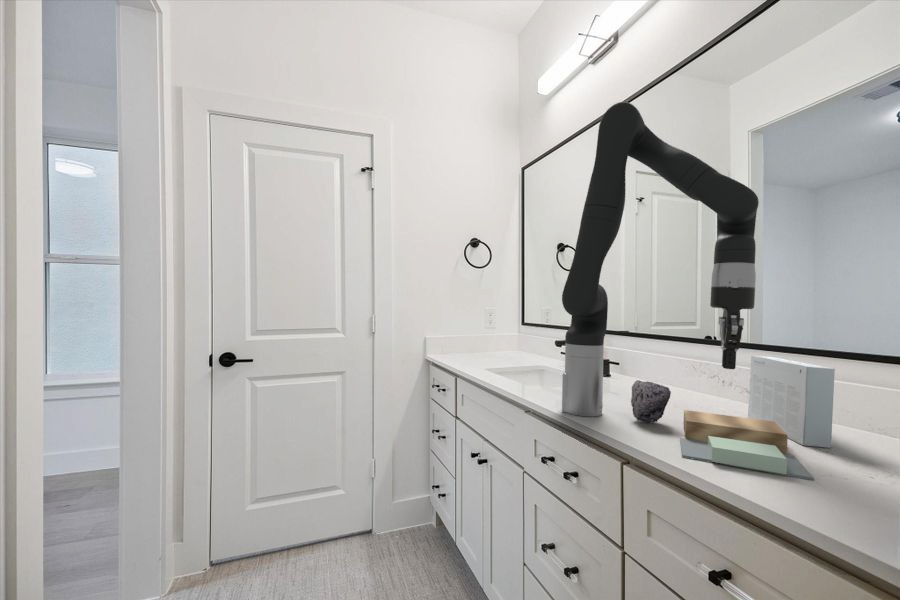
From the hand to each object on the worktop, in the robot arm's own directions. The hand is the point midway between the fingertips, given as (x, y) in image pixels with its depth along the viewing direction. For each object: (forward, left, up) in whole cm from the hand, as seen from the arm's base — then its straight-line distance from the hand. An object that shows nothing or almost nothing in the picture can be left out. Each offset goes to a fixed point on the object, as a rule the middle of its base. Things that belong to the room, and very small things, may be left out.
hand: (728, 368), depth 83 cm
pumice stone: (-15, +3, -15) cm, 21 cm away
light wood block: (0, -2, -14) cm, 15 cm away
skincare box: (+12, +13, -15) cm, 23 cm away
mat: (0, -13, -14) cm, 19 cm away
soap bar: (+1, -15, -12) cm, 19 cm away
